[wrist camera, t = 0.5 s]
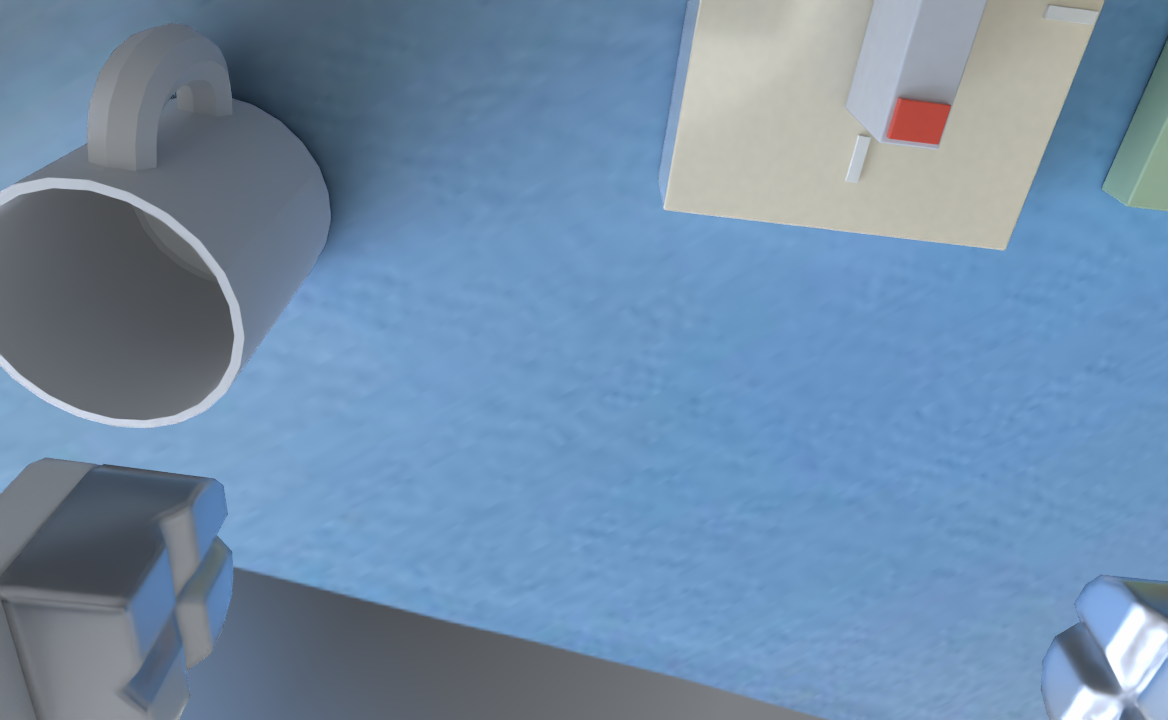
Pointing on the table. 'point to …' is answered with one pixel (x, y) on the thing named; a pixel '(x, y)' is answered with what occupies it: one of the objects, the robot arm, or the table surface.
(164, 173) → the cup
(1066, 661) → the robot arm
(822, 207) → the block
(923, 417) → the table surface
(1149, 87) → the button block
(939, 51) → the tap handle
